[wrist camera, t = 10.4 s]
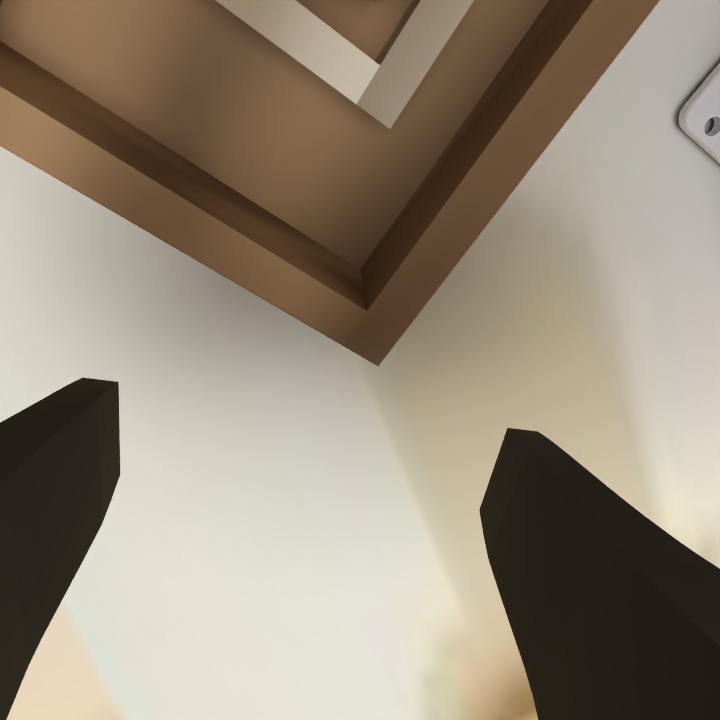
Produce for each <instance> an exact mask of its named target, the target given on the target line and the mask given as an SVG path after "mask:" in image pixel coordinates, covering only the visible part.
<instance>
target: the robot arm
mask: <svg viewBox="0 0 720 720" xmlns="http://www.w3.org/2000/svg"><path fill="white" fill-rule="evenodd" d="M712 117H713V119H714V127H713V128H712V130H711V131H710V132H709V133H707V134H706V133H705V132H704V126H705V124H706V122H707V121H708V120H709V119H710V118H712ZM678 119H679V126H680V127H681V129H682V130H683V131H684V132H685V133H686V134H687V135H688V136H690V137H691V138H692V139H693V140H694V141H695V142H696V143H697V144H698V145H700V146H701V147H702V148H703V149H704V150H705V151H706V152H707V153H708V154H709V155H711V156H712V157H713V158H714V159H715V160H716V161H717V162H718V163H719V164H720V63H719V64H718V65H717V66H716V68H715V69H714V70H713V71H712V72H711V74H710V75H709V76H708V77H707V78H706V80H705V81H704V82H703V83H702V84H701V86H700V87H699V88H698V89H697V90H696V91H695V93H694V94H693V95H692V96H691V97H690V99H689V100H688V101H687V102H686V103H685V105H684V106H683V108H682V109H681V111H680V114H679V118H678ZM119 476H120V441H119V389H118V382H114V381H106V380H97V379H89V378H81V379H79V380H77V381H75V382H73V383H71V384H69V385H67V386H65V387H63V388H62V389H60V390H58V391H56V392H54V393H53V394H51V395H49V396H47V397H46V398H44V399H42V400H40V401H38V402H37V403H35V404H33V405H31V406H30V407H28V408H26V409H24V410H22V411H21V412H19V413H17V414H15V415H13V416H11V417H10V418H8V419H6V420H4V421H2V422H1V423H0V720H6V719H7V717H8V714H9V712H10V709H11V707H12V704H13V702H14V699H15V697H16V695H17V692H18V689H19V687H20V685H21V682H22V680H23V678H24V675H25V672H26V670H27V668H28V666H29V663H30V661H31V659H32V657H33V655H34V653H35V651H36V649H37V647H38V645H39V643H40V641H41V638H42V637H43V635H44V633H45V631H46V629H47V627H48V625H49V623H50V622H51V619H52V618H53V616H54V614H55V612H56V610H57V608H58V606H59V605H60V603H61V601H62V599H63V597H64V595H65V593H66V591H67V590H68V588H69V586H70V584H71V582H72V580H73V578H74V576H75V575H76V573H77V571H78V569H79V567H80V565H81V563H82V561H83V559H84V558H85V556H86V554H87V552H88V550H89V548H90V546H91V544H92V542H93V540H94V538H95V536H96V534H97V533H98V531H99V529H100V527H101V525H102V522H103V520H104V517H105V515H106V512H107V509H108V507H109V504H110V502H111V499H112V496H113V493H114V490H115V487H116V485H117V482H118V479H119ZM480 516H481V522H482V528H483V534H484V539H485V544H486V549H487V554H488V559H489V562H490V565H491V568H492V571H493V574H494V578H495V581H496V584H497V587H498V590H499V593H500V596H501V599H502V602H503V605H504V608H505V611H506V614H507V617H508V620H509V623H510V626H511V629H512V632H513V635H514V637H515V640H516V643H517V646H518V649H519V652H520V655H521V658H522V661H523V664H524V667H525V670H526V674H527V677H528V681H529V684H530V687H531V691H532V694H533V698H534V703H535V707H536V711H537V716H538V720H720V569H719V568H718V567H716V566H715V565H713V564H712V563H710V562H708V561H707V560H705V559H704V558H702V557H701V556H699V555H698V554H696V553H695V552H693V551H692V550H690V549H689V548H688V547H686V546H685V545H683V544H682V543H680V542H679V541H677V540H676V539H675V538H673V537H672V536H671V535H669V534H668V533H667V532H665V531H664V530H663V529H661V528H660V527H659V526H657V525H656V524H654V523H653V522H652V521H650V520H649V519H648V518H646V517H645V516H644V515H642V514H641V513H640V512H639V511H637V510H636V509H635V508H633V507H632V506H631V505H630V504H628V503H627V502H626V501H625V500H623V499H622V498H621V497H620V496H618V495H617V494H616V493H615V492H613V491H612V490H611V489H610V488H608V487H607V486H606V485H605V484H604V483H602V482H601V481H600V480H599V479H597V478H596V477H595V476H594V475H593V474H591V473H590V472H589V471H588V470H587V469H585V468H584V467H583V466H582V465H581V464H579V463H578V462H577V461H576V460H575V459H573V458H572V457H571V456H570V455H568V454H567V453H566V452H565V451H563V450H562V449H561V448H560V447H558V446H557V445H556V444H555V443H553V442H552V441H551V440H549V439H548V438H547V437H545V436H544V435H542V434H541V433H539V432H537V431H529V430H520V429H512V428H507V431H506V434H505V437H504V440H503V443H502V446H501V449H500V452H499V454H498V457H497V460H496V463H495V466H494V469H493V472H492V475H491V478H490V481H489V484H488V487H487V490H486V492H485V495H484V498H483V501H482V504H481V507H480Z"/></svg>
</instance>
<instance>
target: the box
mask: <svg viewBox="0 0 720 720" xmlns="http://www.w3.org/2000/svg"><path fill="white" fill-rule="evenodd" d="M659 1H660V0H376V1H375V2H373V1H372V0H0V146H1V147H3V148H5V149H7V150H8V151H10V152H12V153H13V154H15V155H17V156H19V157H20V158H22V159H24V160H25V161H27V162H29V163H31V164H32V165H34V166H36V167H37V168H39V169H41V170H43V171H44V172H46V173H48V174H49V175H51V176H53V177H55V178H56V179H58V180H60V181H61V182H63V183H65V184H67V185H68V186H70V187H72V188H73V189H75V190H77V191H79V192H80V193H82V194H84V195H85V196H87V197H89V198H91V199H92V200H94V201H96V202H97V203H99V204H101V205H103V206H104V207H106V208H108V209H109V210H111V211H113V212H115V213H116V214H118V215H120V216H121V217H123V218H125V219H127V220H128V221H130V222H132V223H133V224H135V225H137V226H139V227H140V228H142V229H144V230H145V231H147V232H149V233H151V234H152V235H154V236H156V237H157V238H159V239H161V240H163V241H164V242H166V243H168V244H169V245H171V246H173V247H175V248H176V249H178V250H180V251H181V252H183V253H185V254H187V255H188V256H190V257H192V258H193V259H195V260H197V261H199V262H200V263H202V264H204V265H205V266H207V267H209V268H211V269H212V270H214V271H216V272H217V273H219V274H221V275H223V276H224V277H226V278H228V279H229V280H231V281H233V282H235V283H236V284H238V285H240V286H241V287H243V288H245V289H247V290H248V291H250V292H252V293H253V294H255V295H257V296H259V297H260V298H262V299H264V300H265V301H267V302H269V303H271V304H272V305H274V306H276V307H278V308H279V309H281V310H283V311H284V312H286V313H288V314H290V315H291V316H293V317H295V318H296V319H298V320H300V321H302V322H303V323H305V324H307V325H308V326H310V327H312V328H314V329H315V330H317V331H319V332H320V333H322V334H324V335H326V336H327V337H329V338H331V339H332V340H334V341H336V342H338V343H339V344H341V345H343V346H344V347H346V348H348V349H350V350H351V351H353V352H355V353H356V354H358V355H360V356H362V357H363V358H365V359H367V360H368V361H370V362H372V363H374V364H375V365H377V366H379V364H380V363H381V362H382V360H383V359H384V358H385V357H386V355H387V354H388V353H389V351H390V350H391V349H392V347H393V346H394V345H395V344H396V342H397V341H398V340H399V338H400V337H401V336H402V334H403V333H404V332H405V331H406V329H407V328H408V327H409V325H410V324H411V323H412V321H413V320H414V319H415V318H416V316H417V315H418V314H419V312H420V311H421V310H422V308H423V307H424V306H425V305H426V303H427V302H428V301H429V299H430V298H431V297H432V295H433V294H434V293H435V292H436V290H437V289H438V288H439V286H440V285H441V284H442V282H443V281H444V280H445V279H446V277H447V276H448V275H449V273H450V272H451V271H452V270H453V268H454V267H455V266H456V264H457V263H458V262H459V260H460V259H461V258H462V257H463V255H464V254H465V253H466V251H467V250H468V249H469V247H470V246H471V245H472V244H473V242H474V241H475V240H476V238H477V237H478V236H479V234H480V233H481V232H482V231H483V229H484V228H485V227H486V225H487V224H488V223H489V221H490V220H491V219H492V218H493V216H494V215H495V214H496V212H497V211H498V210H499V208H500V207H501V206H502V205H503V203H504V202H505V201H506V199H507V198H508V197H509V195H510V194H511V193H512V192H513V190H514V189H515V188H516V186H517V185H518V184H519V182H520V181H521V180H522V179H523V177H524V176H525V175H526V173H527V172H528V171H529V169H530V168H531V167H532V166H533V164H534V163H535V162H536V160H537V159H538V158H539V156H540V155H541V154H542V153H543V151H544V150H545V149H546V147H547V146H548V145H549V144H550V142H551V141H552V140H553V138H554V137H555V136H556V134H557V133H558V132H559V131H560V129H561V128H562V127H563V125H564V124H565V123H566V121H567V120H568V119H569V118H570V116H571V115H572V114H573V112H574V111H575V110H576V108H577V107H578V106H579V105H580V103H581V102H582V101H583V99H584V98H585V97H586V95H587V94H588V93H589V92H590V90H591V89H592V88H593V86H594V85H595V84H596V82H597V81H598V80H599V79H600V77H601V76H602V75H603V73H604V72H605V71H606V69H607V68H608V67H609V66H610V64H611V63H612V62H613V60H614V59H615V58H616V56H617V55H618V54H619V53H620V51H621V50H622V49H623V47H624V46H625V45H626V43H627V42H628V41H629V40H630V38H631V37H632V36H633V34H634V33H635V32H636V31H637V29H638V28H639V27H640V25H641V24H642V23H643V21H644V20H645V19H646V18H647V16H648V15H649V14H650V12H651V11H652V10H653V8H654V7H655V6H656V5H657V3H658V2H659Z"/></svg>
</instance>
